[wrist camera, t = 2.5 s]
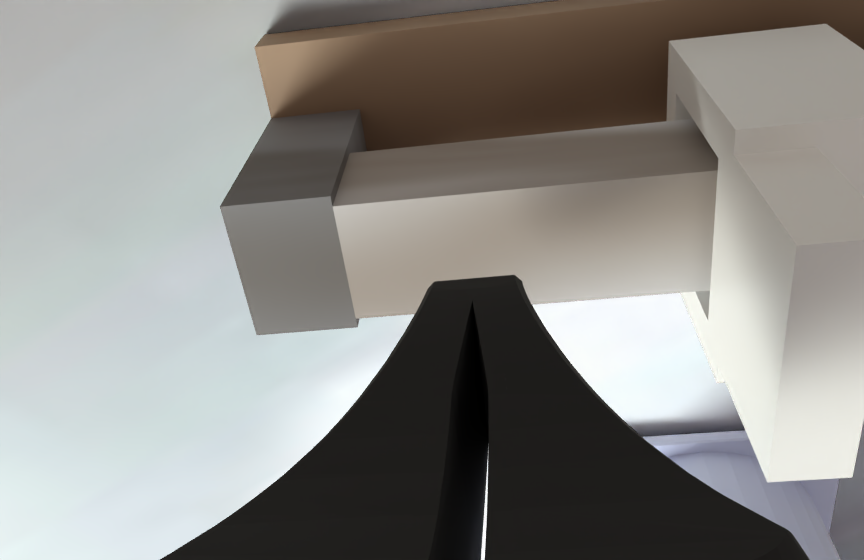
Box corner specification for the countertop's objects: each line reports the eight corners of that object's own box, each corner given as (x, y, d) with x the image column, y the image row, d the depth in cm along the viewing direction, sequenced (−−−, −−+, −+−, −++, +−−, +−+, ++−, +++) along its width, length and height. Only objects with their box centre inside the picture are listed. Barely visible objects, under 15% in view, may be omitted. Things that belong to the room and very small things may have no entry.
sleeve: (798, 239, 18) (977, 489, 12) (663, 250, 19) (764, 501, 12) (825, 23, 16) (1069, 192, 9) (668, 40, 16) (800, 216, 10)
